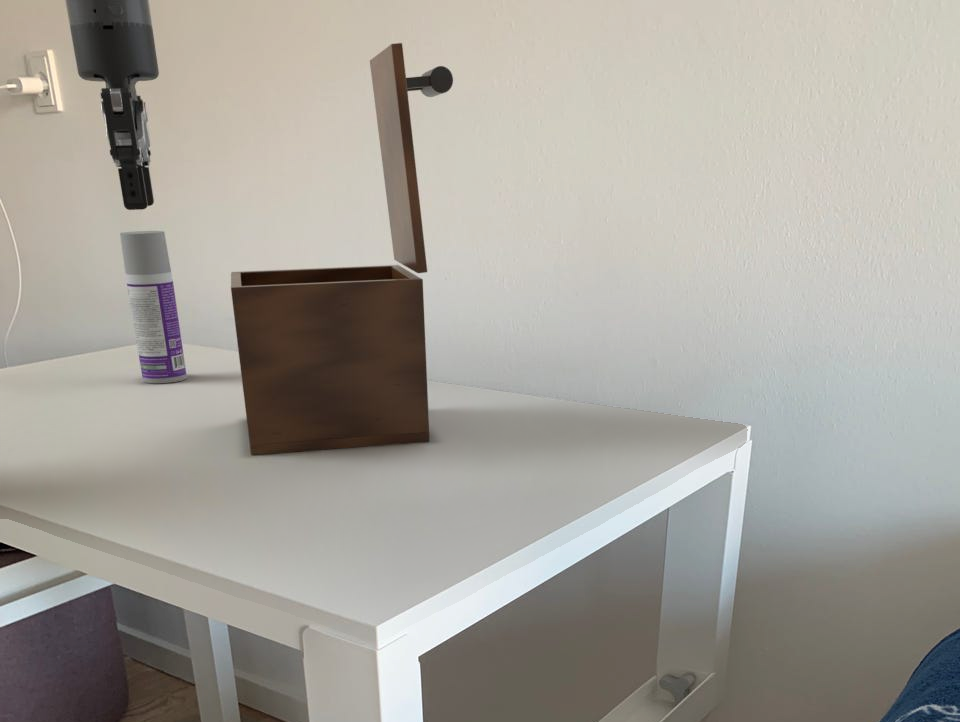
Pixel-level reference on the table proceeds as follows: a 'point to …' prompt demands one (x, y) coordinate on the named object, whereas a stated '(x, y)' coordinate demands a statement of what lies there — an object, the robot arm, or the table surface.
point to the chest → (331, 357)
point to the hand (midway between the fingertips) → (140, 207)
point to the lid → (402, 148)
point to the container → (153, 306)
